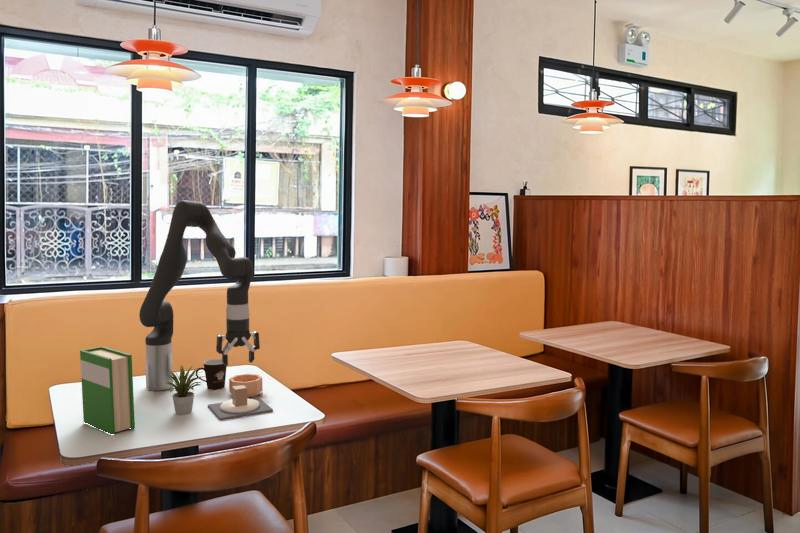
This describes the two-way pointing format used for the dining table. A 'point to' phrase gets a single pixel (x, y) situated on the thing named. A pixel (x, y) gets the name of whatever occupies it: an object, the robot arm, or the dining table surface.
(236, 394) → the lid
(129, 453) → the dining table surface
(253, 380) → the bowl
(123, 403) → the hardback book
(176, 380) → the house plant
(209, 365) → the coffee mug
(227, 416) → the mat
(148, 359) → the robot arm
